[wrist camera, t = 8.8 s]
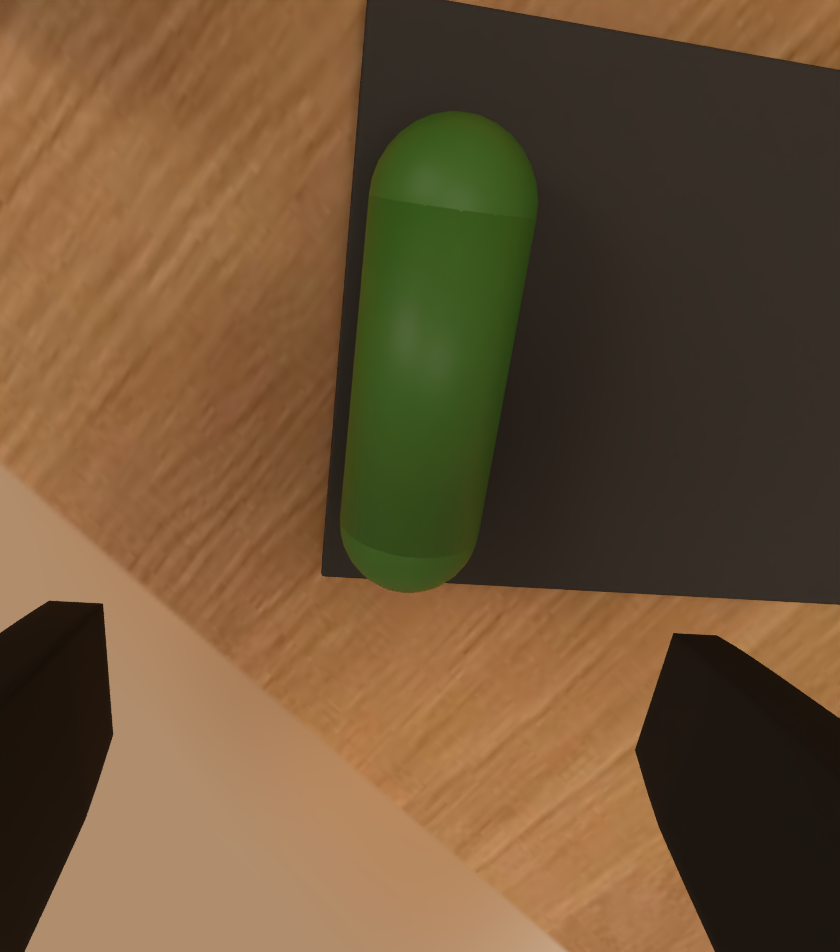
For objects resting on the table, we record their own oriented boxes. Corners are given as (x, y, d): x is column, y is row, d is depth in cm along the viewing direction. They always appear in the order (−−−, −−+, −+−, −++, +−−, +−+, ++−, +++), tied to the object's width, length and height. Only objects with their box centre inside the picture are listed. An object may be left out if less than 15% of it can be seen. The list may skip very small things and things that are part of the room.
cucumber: (447, 546, 18) (486, 618, 15) (327, 548, 17) (344, 624, 14) (515, 128, 14) (585, 121, 11) (364, 103, 13) (398, 89, 10)
